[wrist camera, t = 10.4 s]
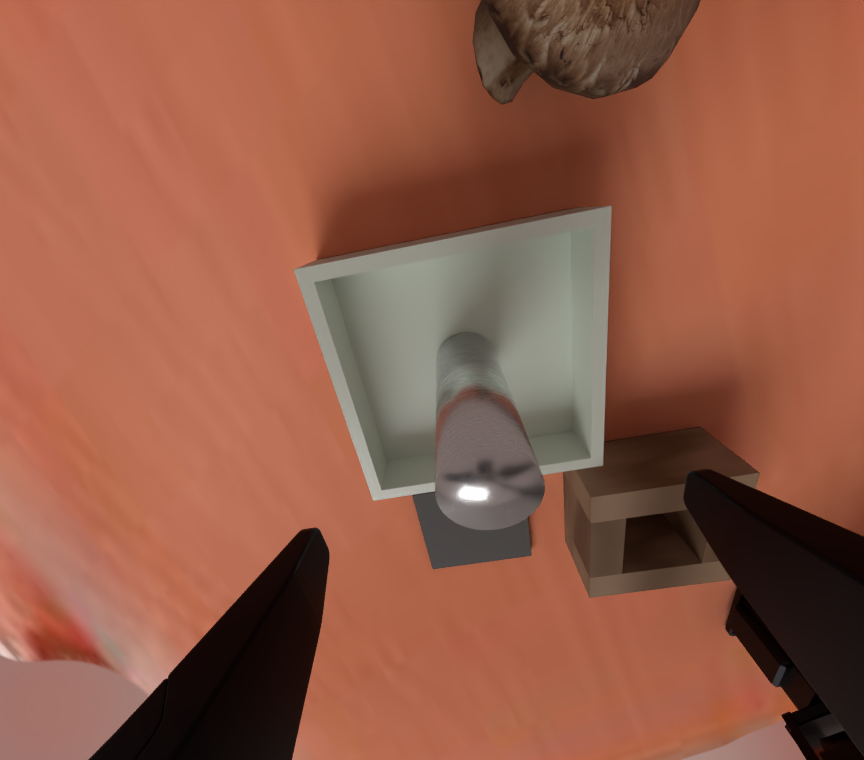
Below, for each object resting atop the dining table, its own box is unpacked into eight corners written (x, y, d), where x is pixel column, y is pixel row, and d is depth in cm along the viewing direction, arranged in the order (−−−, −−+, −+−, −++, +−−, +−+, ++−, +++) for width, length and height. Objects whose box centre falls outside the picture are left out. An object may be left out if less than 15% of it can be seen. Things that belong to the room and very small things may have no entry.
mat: (522, 474, 22) (524, 478, 21) (529, 550, 25) (531, 555, 24) (412, 491, 22) (412, 495, 22) (432, 564, 25) (432, 569, 25)
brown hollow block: (700, 426, 20) (759, 472, 17) (683, 524, 24) (729, 579, 20) (562, 448, 21) (591, 497, 17) (565, 540, 24) (589, 597, 21)
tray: (578, 207, 15) (611, 205, 13) (579, 432, 20) (602, 465, 18) (315, 260, 16) (293, 269, 13) (380, 463, 21) (373, 500, 18)
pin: (492, 327, 17) (543, 441, 9) (498, 381, 18) (546, 524, 10) (431, 337, 17) (425, 457, 9) (441, 390, 18) (444, 535, 10)
